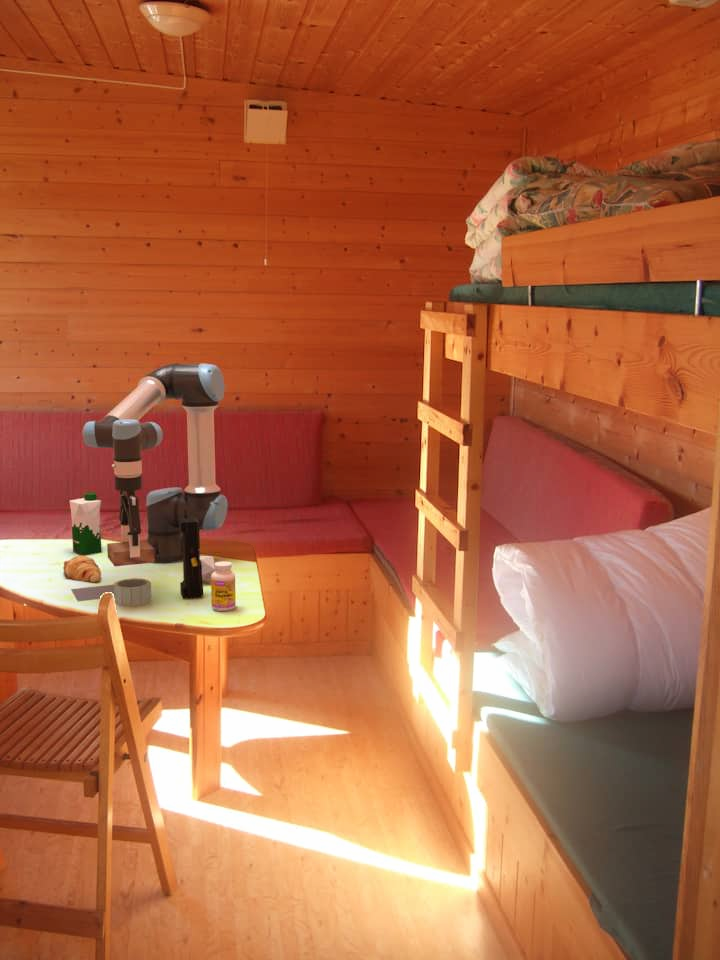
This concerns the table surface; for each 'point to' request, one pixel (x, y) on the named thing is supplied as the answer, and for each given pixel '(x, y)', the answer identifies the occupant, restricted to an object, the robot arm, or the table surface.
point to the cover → (121, 554)
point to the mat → (91, 592)
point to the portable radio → (191, 558)
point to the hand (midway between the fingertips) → (130, 552)
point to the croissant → (82, 569)
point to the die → (207, 568)
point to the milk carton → (86, 524)
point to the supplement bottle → (223, 587)
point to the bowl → (132, 592)
